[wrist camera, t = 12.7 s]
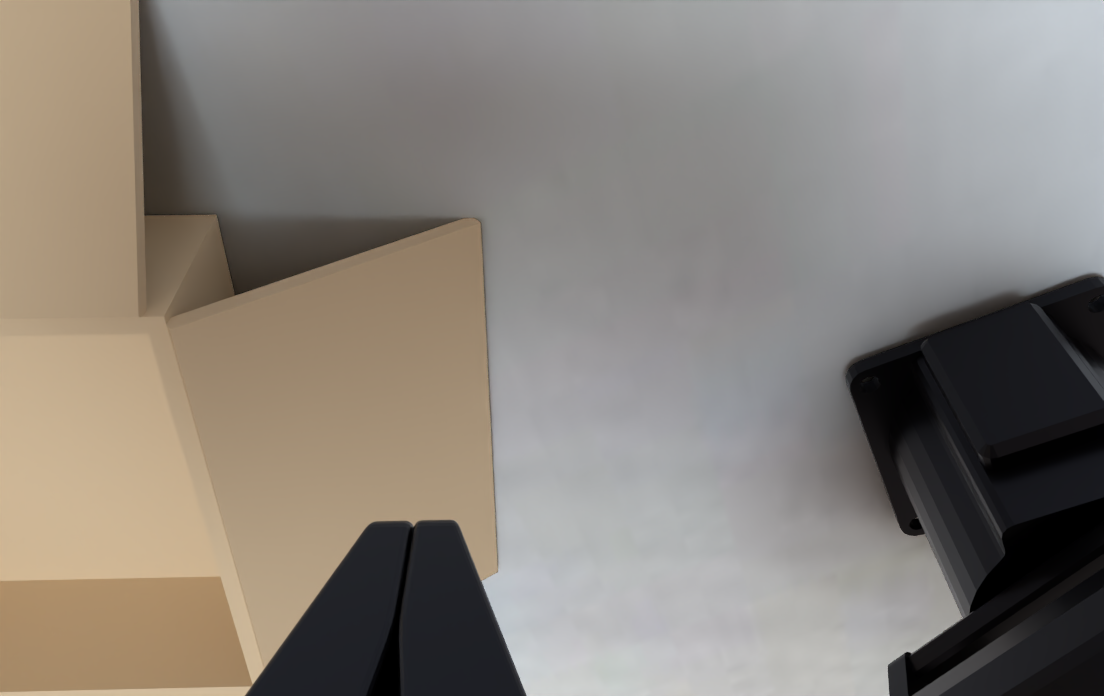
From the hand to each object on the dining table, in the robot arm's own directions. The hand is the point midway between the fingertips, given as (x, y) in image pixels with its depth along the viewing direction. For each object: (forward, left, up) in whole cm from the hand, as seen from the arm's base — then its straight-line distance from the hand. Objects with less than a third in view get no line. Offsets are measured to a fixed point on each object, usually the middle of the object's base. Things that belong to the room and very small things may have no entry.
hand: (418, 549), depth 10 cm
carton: (-5, +11, -13) cm, 18 cm away
